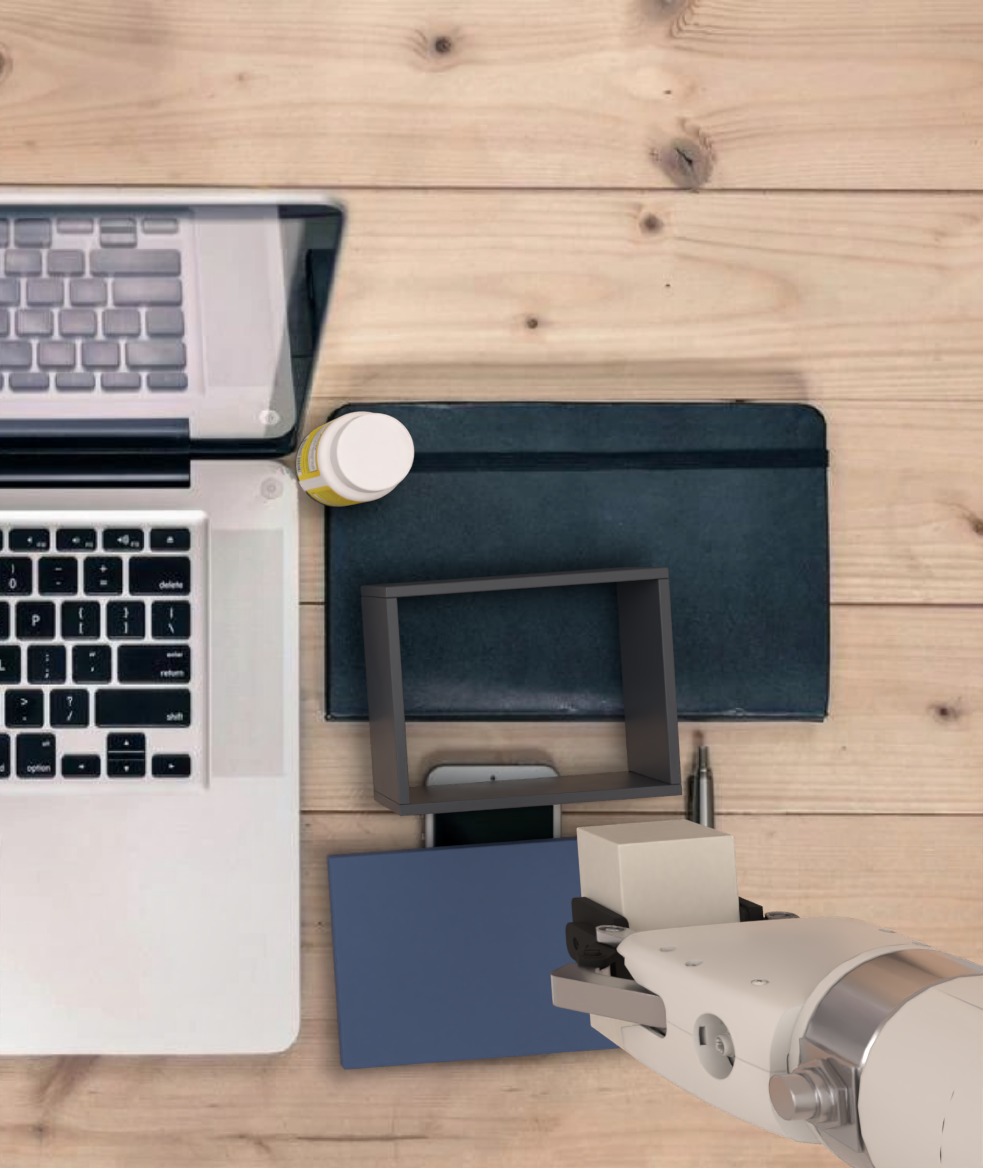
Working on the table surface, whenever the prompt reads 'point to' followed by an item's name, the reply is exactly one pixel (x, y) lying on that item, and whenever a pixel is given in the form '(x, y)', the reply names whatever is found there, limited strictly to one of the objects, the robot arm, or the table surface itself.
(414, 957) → the pad
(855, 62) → the table surface
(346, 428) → the supplement bottle
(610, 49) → the table surface
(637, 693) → the dark grey rectangular frame
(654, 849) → the block
